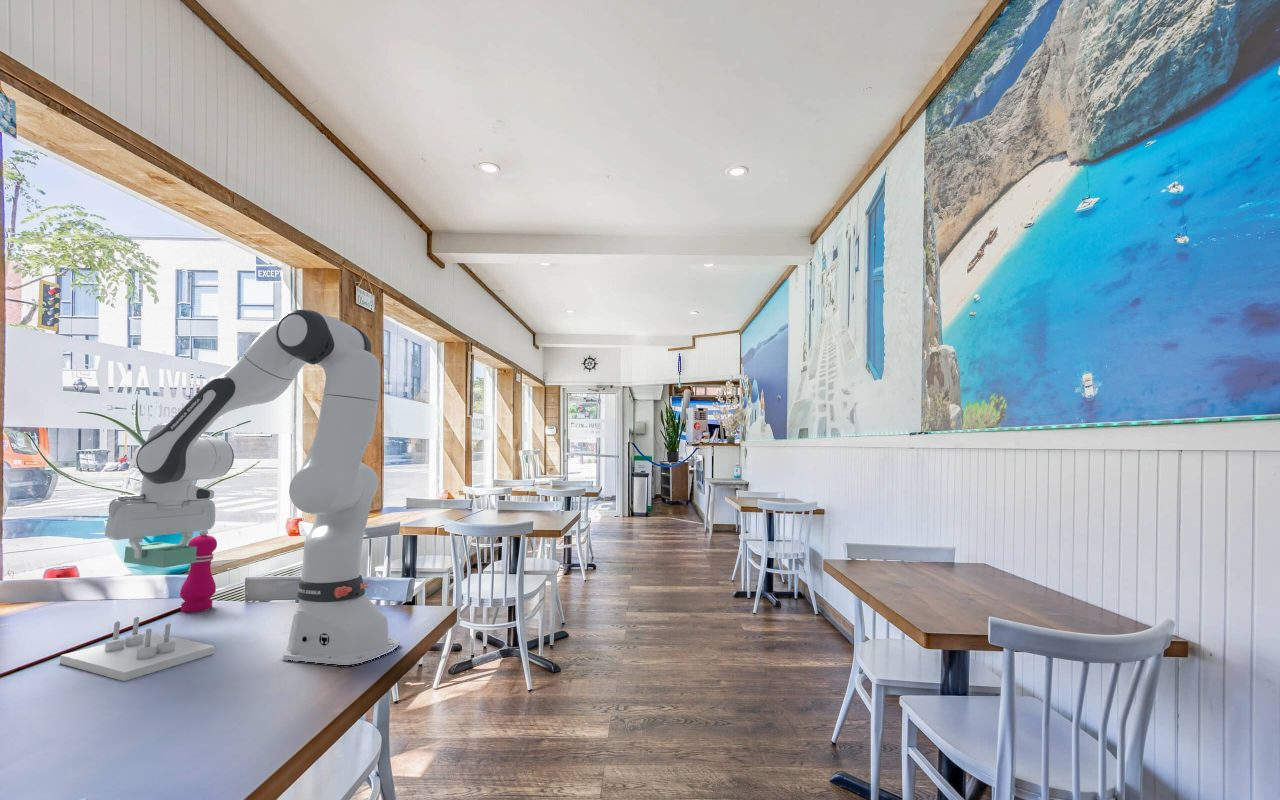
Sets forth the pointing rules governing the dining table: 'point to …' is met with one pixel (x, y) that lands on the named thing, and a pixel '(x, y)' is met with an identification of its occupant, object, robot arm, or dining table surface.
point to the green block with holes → (162, 555)
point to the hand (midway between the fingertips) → (160, 554)
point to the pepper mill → (199, 576)
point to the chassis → (136, 654)
